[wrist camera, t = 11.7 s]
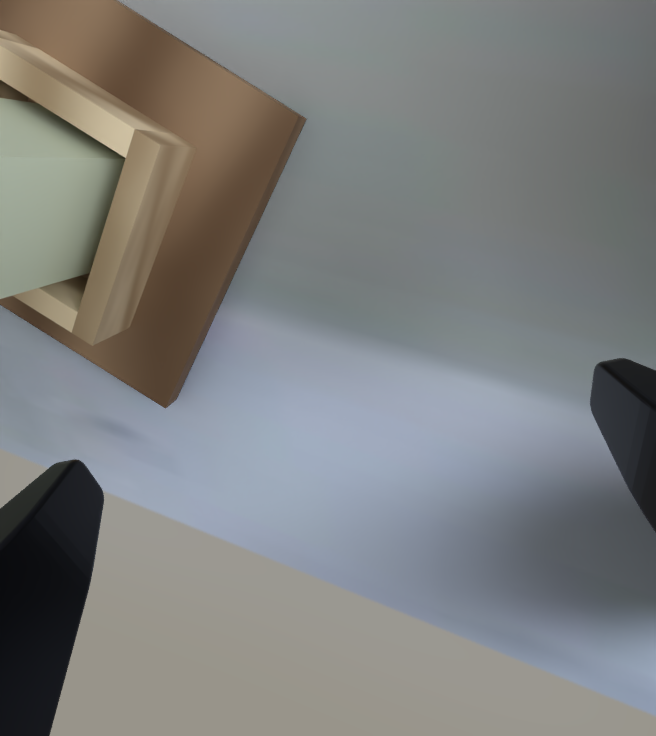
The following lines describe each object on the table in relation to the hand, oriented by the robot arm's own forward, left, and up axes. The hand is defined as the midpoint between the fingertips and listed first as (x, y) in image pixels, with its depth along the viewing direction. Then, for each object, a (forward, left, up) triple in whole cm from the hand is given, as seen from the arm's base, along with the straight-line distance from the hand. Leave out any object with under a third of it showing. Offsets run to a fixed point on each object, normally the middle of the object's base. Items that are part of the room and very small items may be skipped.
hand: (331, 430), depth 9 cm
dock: (+8, +11, -12) cm, 18 cm away
